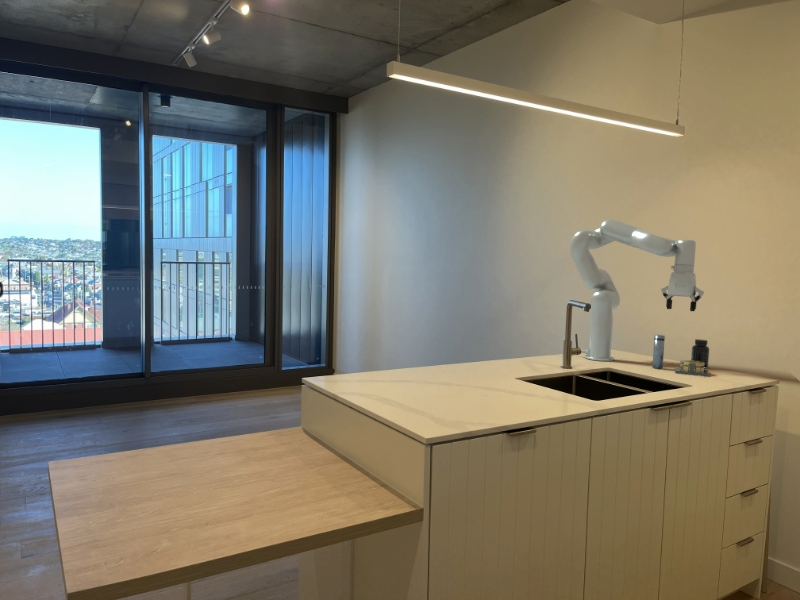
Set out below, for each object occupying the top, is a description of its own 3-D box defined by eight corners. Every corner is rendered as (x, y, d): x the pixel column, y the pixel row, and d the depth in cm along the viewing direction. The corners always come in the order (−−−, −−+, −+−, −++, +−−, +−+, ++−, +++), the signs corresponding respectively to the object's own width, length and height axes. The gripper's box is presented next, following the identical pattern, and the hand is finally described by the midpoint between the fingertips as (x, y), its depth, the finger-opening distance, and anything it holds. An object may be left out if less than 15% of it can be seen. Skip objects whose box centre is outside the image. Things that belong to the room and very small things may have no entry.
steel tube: (652, 368, 257) (654, 335, 256) (652, 367, 261) (654, 334, 260) (662, 369, 255) (664, 336, 254) (663, 368, 259) (665, 335, 258)
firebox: (675, 373, 247) (675, 362, 247) (675, 369, 258) (676, 358, 257) (708, 376, 242) (709, 365, 241) (707, 372, 252) (708, 361, 252)
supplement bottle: (687, 366, 268) (688, 338, 267) (698, 365, 271) (699, 338, 270) (700, 368, 262) (702, 340, 261) (711, 368, 265) (713, 340, 264)
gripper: (659, 268, 260) (656, 308, 261) (701, 270, 247) (698, 312, 248) (667, 268, 265) (664, 308, 266) (709, 270, 252) (705, 311, 253)
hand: (680, 310), depth 257 cm, fingers open, 9 cm apart
